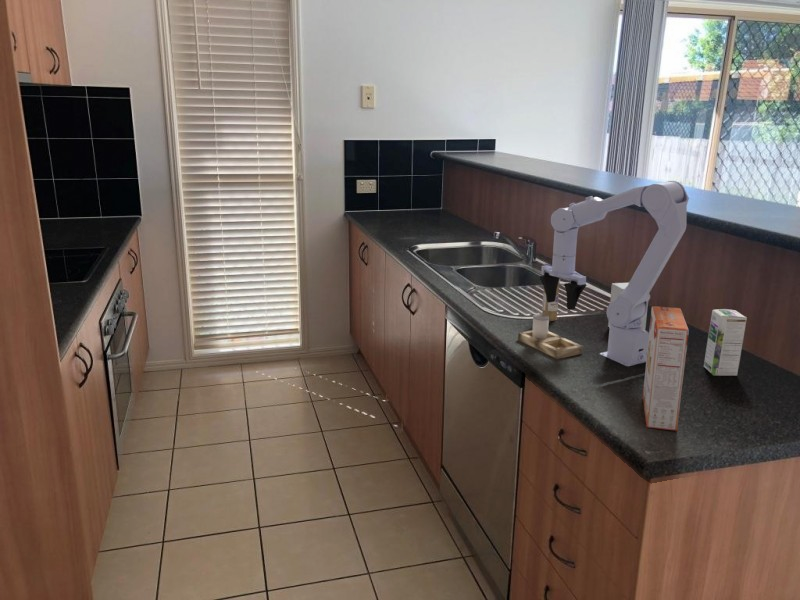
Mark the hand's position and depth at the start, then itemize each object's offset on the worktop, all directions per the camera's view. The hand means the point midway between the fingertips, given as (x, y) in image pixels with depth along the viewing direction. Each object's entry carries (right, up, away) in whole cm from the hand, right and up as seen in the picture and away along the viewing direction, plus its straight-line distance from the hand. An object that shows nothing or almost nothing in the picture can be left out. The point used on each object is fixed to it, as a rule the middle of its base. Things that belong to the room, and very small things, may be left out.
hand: (560, 305), depth 171 cm
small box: (+21, -7, +11) cm, 25 cm away
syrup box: (+33, -16, -17) cm, 41 cm away
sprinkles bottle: (+1, -5, +20) cm, 20 cm away
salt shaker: (-6, -10, 0) cm, 11 cm away
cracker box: (+10, -22, -39) cm, 46 cm away
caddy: (-4, -11, -3) cm, 12 cm away
